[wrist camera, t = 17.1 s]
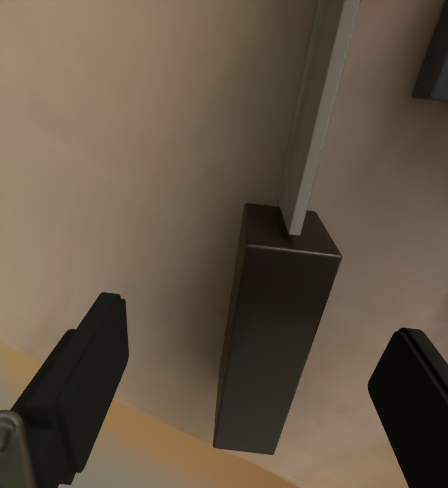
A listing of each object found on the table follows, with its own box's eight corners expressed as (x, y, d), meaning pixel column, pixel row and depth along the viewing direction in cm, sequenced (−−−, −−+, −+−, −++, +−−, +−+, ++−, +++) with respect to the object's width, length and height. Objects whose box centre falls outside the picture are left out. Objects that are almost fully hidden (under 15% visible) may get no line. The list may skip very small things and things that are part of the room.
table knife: (470, -350, 5) (728, -843, 2) (268, 386, 14) (274, 456, 11) (329, -367, 5) (430, -889, 2) (217, 380, 14) (212, 448, 11)
